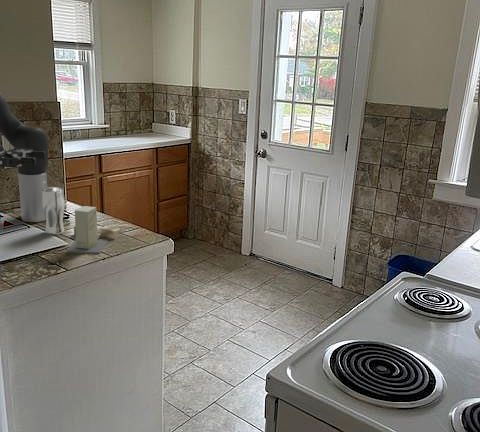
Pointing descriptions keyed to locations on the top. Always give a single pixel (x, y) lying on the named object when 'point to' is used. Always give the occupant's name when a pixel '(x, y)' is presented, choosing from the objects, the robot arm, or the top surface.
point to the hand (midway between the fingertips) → (40, 158)
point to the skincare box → (86, 227)
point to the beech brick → (110, 232)
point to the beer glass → (53, 209)
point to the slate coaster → (93, 250)
